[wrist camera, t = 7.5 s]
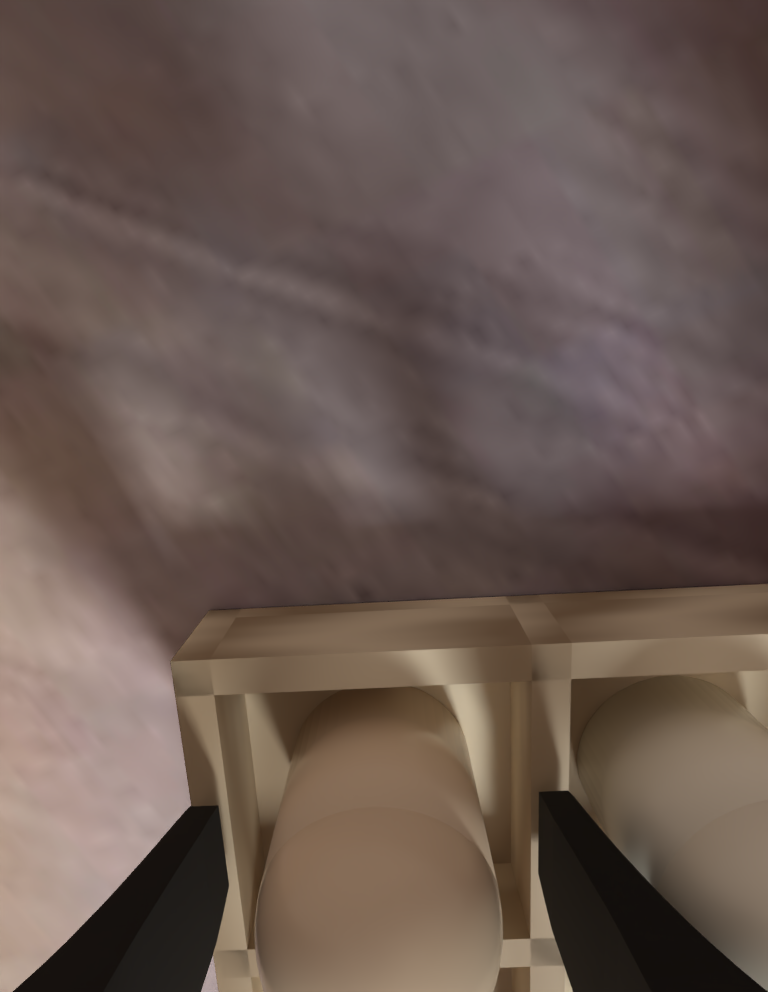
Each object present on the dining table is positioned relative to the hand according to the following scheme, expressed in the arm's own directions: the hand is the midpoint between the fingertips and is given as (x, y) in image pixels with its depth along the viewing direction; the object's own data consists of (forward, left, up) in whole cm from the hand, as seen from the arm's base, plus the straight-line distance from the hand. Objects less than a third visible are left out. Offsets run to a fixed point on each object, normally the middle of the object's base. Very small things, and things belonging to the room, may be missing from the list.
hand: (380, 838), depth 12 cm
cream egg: (-7, 0, -2) cm, 7 cm away
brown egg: (0, 0, -2) cm, 2 cm away
